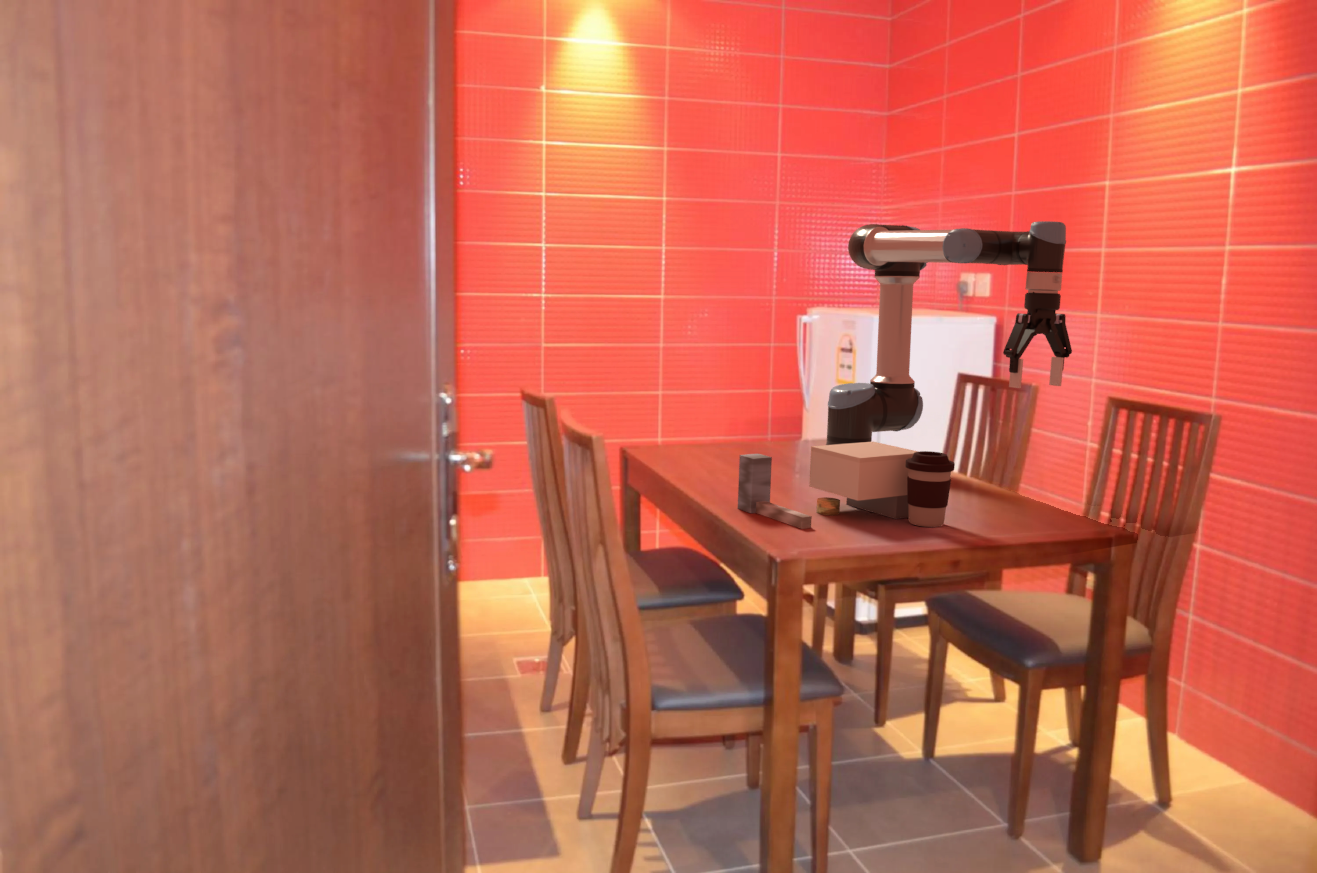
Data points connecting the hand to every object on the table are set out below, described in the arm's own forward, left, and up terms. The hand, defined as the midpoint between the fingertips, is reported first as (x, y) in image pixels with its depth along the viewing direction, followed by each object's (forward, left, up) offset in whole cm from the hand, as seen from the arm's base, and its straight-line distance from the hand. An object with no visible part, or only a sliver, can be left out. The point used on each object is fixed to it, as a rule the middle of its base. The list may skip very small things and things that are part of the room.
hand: (1035, 386), depth 239 cm
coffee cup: (+4, -35, -28) cm, 45 cm away
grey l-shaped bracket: (-14, -61, -28) cm, 68 cm away
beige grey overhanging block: (-10, -40, -28) cm, 50 cm away
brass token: (-13, -47, -28) cm, 56 cm away
